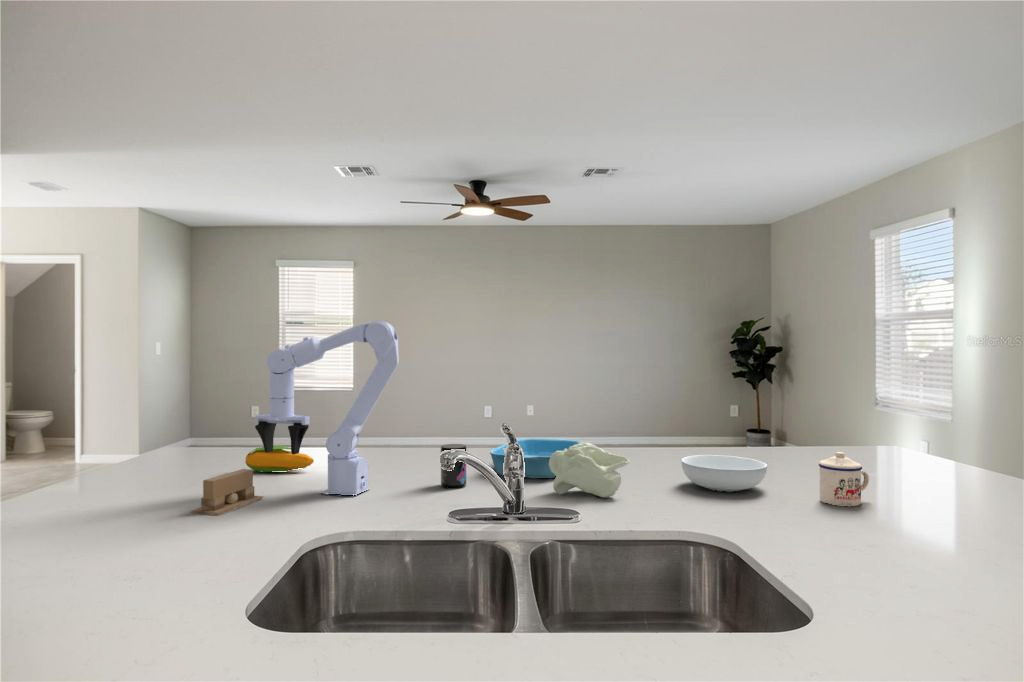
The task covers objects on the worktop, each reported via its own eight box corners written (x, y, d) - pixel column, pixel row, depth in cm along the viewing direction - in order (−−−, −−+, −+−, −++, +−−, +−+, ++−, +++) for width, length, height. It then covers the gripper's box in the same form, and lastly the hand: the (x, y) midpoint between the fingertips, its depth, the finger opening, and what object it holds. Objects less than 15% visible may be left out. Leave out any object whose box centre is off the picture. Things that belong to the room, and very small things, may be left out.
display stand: (263, 498, 154) (263, 485, 154) (218, 515, 140) (217, 501, 140) (238, 496, 156) (238, 484, 156) (191, 512, 142) (191, 498, 142)
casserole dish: (519, 456, 211) (519, 434, 211) (587, 460, 204) (587, 438, 204) (479, 480, 176) (479, 454, 176) (559, 486, 169) (559, 458, 169)
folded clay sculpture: (605, 518, 162) (631, 461, 165) (604, 518, 150) (632, 457, 152) (541, 485, 167) (567, 430, 169) (535, 482, 155) (563, 424, 157)
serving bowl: (780, 498, 156) (780, 469, 156) (692, 498, 156) (692, 469, 156) (750, 479, 176) (750, 454, 176) (673, 479, 177) (673, 453, 177)
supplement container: (454, 490, 163) (454, 449, 163) (435, 486, 167) (435, 446, 167) (472, 485, 169) (471, 445, 169) (452, 482, 173) (452, 443, 173)
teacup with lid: (836, 508, 146) (836, 456, 146) (810, 498, 155) (810, 449, 155) (882, 505, 149) (882, 454, 148) (854, 496, 157) (854, 448, 157)
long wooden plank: (252, 486, 154) (252, 469, 154) (213, 499, 142) (213, 481, 142) (242, 485, 155) (242, 468, 155) (202, 498, 142) (202, 480, 142)
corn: (252, 442, 190) (318, 443, 189) (253, 468, 191) (319, 469, 189) (240, 448, 183) (309, 449, 181) (241, 475, 183) (310, 476, 182)
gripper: (246, 398, 159) (246, 454, 159) (297, 400, 155) (297, 457, 155) (265, 396, 165) (265, 449, 166) (314, 397, 161) (314, 452, 161)
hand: (282, 452), depth 161 cm, fingers open, 7 cm apart
